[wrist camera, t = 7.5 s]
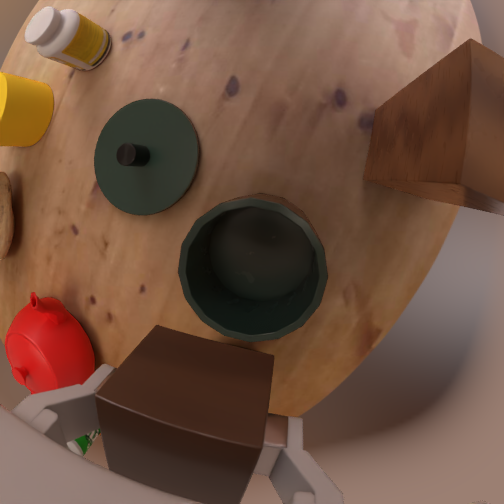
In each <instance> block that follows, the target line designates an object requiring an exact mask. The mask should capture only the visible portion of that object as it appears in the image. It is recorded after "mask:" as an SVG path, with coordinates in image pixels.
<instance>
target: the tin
mask: <svg viewBox="0 0 504 504" xmlns="http://www.w3.org/2000/svg"><path fill="white" fill-rule="evenodd" d="M178 274H179V278H180V282H181V285H182V289H183V293H184V296H185V299H186V300H187V302H188V303H189V305H190V306H191V307H192V309H193V310H194V311H195V313H196V314H197V315H198V317H199V318H200V319H201V320H202V321H203V322H204V323H206V324H207V325H209V326H210V327H212V328H213V329H215V330H216V331H218V332H219V333H221V334H222V335H224V336H227V337H231V338H235V339H239V340H244V341H248V342H257V341H266V340H274V339H279V338H281V337H283V336H285V335H287V334H289V333H290V332H292V331H294V330H296V329H298V328H300V327H302V326H303V325H304V324H305V322H306V321H307V320H308V319H309V318H310V316H311V315H312V314H313V313H314V312H315V310H316V309H317V308H318V307H319V305H320V303H321V300H322V297H323V293H324V290H325V286H326V283H327V279H328V273H327V266H326V259H325V252H324V248H323V245H322V243H321V241H320V239H319V237H318V235H317V233H316V231H315V229H314V228H313V226H312V224H311V223H310V221H309V220H308V218H307V217H306V215H305V213H304V212H303V211H302V210H300V209H299V208H297V207H296V206H295V205H294V204H292V203H290V202H289V201H287V200H286V199H285V198H282V197H277V196H273V195H268V194H263V193H258V194H252V195H247V196H242V197H237V198H234V199H232V200H229V201H226V202H223V203H221V204H219V205H217V206H216V207H214V208H213V209H212V210H210V211H209V212H207V213H206V214H204V215H203V216H202V217H200V218H199V219H197V220H196V221H195V223H194V225H193V226H192V228H191V230H190V231H189V233H188V235H187V236H186V238H185V240H184V241H183V243H182V245H181V253H180V260H179V268H178Z"/></svg>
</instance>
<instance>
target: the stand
mask: <svg viewBox="0 0 504 504" xmlns="http://www.w3.org/2000/svg"><path fill="white" fill-rule="evenodd" d="M363 180H365V181H369V182H372V183H376V184H379V185H383V186H386V187H390V188H393V189H396V190H400V191H403V192H406V193H409V194H412V195H415V196H419V197H422V198H425V199H429V200H434V201H439V202H444V203H449V204H454V205H459V206H464V207H468V208H473V209H477V210H482V211H486V212H490V213H495V214H499V215H503V216H504V58H503V57H501V56H500V55H498V54H497V53H495V52H493V51H492V50H490V49H488V48H487V47H485V46H483V45H482V44H480V43H478V42H476V41H475V40H473V39H469V40H467V41H466V42H464V43H463V44H462V45H460V46H459V47H458V48H456V49H455V50H453V51H452V52H451V53H449V54H448V55H447V56H445V57H444V58H443V59H441V60H440V61H439V62H437V63H436V64H435V65H433V66H432V67H431V68H429V69H428V70H427V71H425V72H424V73H423V74H421V75H420V76H419V77H417V78H416V79H415V80H414V81H412V82H411V83H410V84H408V85H407V86H406V87H404V88H403V89H402V90H401V91H399V92H398V93H397V94H395V95H394V96H393V97H392V98H390V99H389V100H388V101H386V102H385V103H384V104H383V105H381V106H380V107H379V108H378V109H376V110H375V116H374V123H373V129H372V134H371V140H370V146H369V151H368V156H367V161H366V166H365V171H364V176H363Z"/></svg>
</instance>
